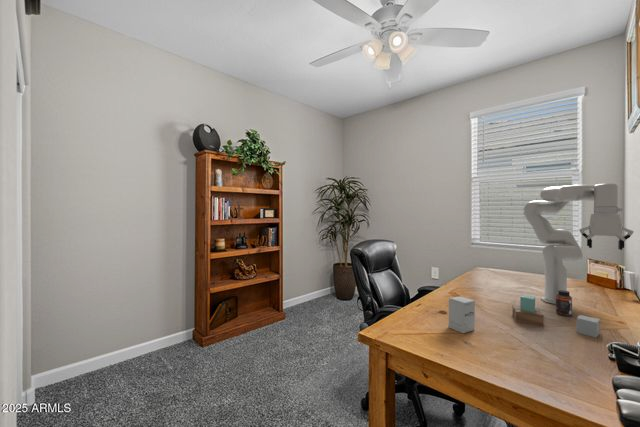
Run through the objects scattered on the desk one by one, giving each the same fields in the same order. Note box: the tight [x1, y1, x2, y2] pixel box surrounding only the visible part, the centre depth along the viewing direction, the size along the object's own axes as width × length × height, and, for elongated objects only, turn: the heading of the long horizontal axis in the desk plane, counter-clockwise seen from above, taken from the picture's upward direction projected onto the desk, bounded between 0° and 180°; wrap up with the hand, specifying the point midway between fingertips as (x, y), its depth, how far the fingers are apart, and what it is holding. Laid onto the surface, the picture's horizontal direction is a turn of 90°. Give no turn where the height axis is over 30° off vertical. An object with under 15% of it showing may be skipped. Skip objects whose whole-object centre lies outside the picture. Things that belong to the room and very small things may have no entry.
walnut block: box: [511, 304, 545, 327], centre depth 129 cm, size 10×10×5 cm
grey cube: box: [575, 314, 600, 338], centre depth 115 cm, size 6×6×6 cm
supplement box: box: [448, 296, 476, 334], centre depth 118 cm, size 7×7×13 cm
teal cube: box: [519, 294, 536, 313], centre depth 128 cm, size 5×5×6 cm
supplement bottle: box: [555, 290, 573, 317], centre depth 136 cm, size 6×6×11 cm
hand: (604, 248), depth 127 cm, fingers open, 9 cm apart
